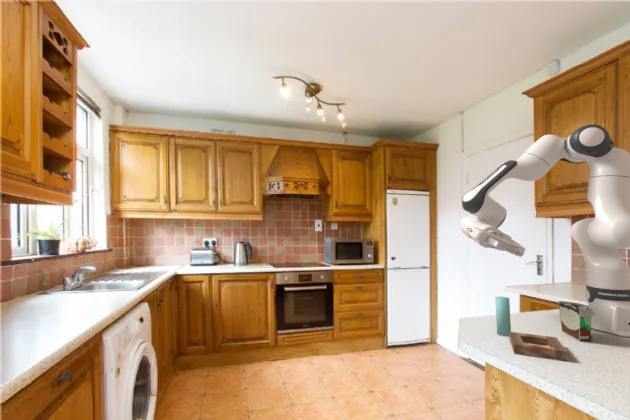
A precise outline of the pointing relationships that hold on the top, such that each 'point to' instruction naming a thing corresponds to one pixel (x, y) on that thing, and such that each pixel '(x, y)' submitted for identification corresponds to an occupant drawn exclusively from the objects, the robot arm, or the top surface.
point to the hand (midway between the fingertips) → (510, 249)
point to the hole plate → (538, 346)
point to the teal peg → (503, 316)
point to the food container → (576, 320)
